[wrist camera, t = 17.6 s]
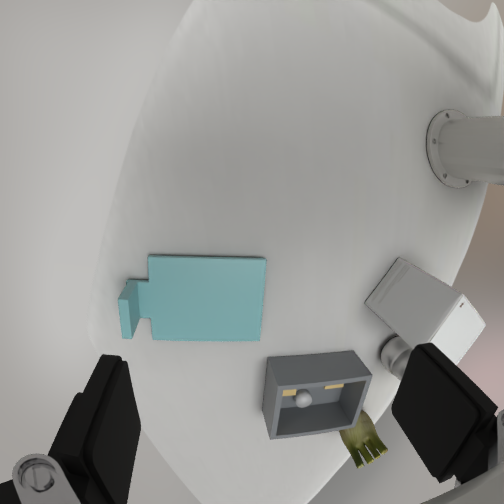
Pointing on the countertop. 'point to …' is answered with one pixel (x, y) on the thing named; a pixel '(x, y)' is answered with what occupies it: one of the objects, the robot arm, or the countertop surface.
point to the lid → (197, 299)
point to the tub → (314, 393)
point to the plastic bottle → (396, 356)
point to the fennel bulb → (363, 440)
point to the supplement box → (426, 310)
